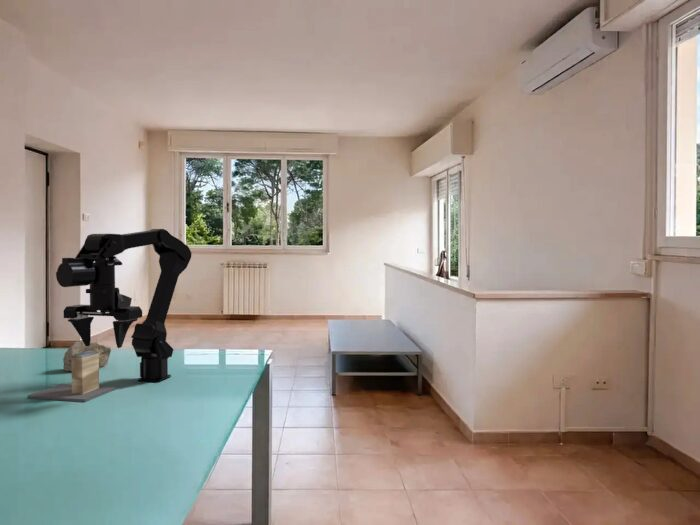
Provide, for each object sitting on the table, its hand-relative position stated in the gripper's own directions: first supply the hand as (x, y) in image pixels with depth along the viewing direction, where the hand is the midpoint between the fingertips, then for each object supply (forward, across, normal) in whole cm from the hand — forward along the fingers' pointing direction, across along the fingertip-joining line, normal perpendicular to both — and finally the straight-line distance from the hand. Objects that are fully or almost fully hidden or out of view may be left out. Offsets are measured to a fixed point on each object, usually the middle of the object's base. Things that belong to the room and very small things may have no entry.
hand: (103, 346), depth 128 cm
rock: (+12, +23, -21) cm, 34 cm away
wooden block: (+11, +5, 0) cm, 12 cm away
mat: (+12, +8, +1) cm, 15 cm away
